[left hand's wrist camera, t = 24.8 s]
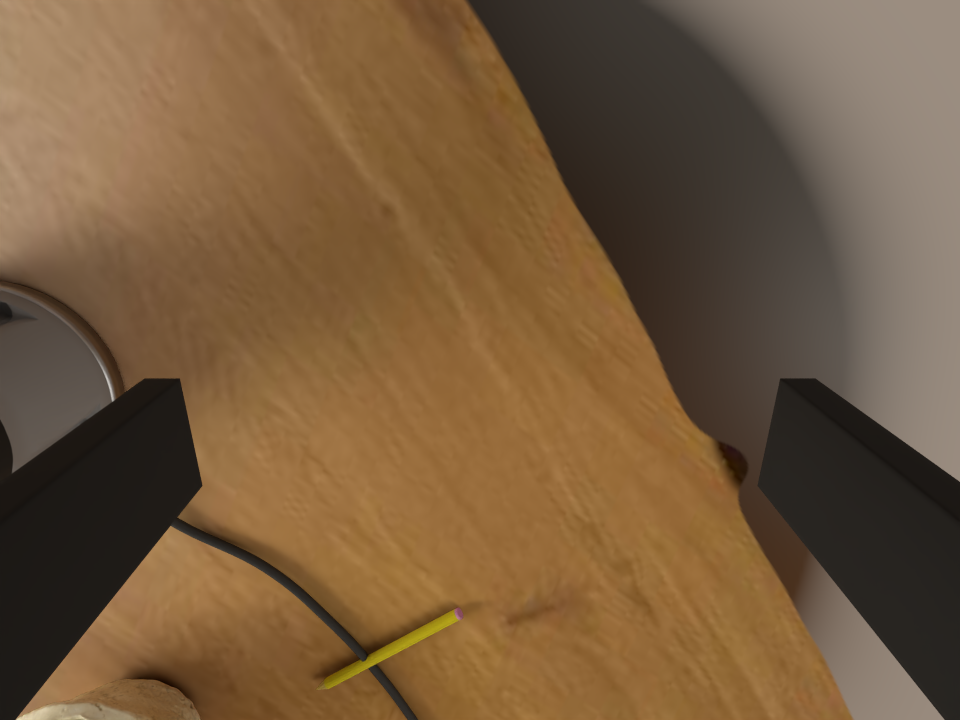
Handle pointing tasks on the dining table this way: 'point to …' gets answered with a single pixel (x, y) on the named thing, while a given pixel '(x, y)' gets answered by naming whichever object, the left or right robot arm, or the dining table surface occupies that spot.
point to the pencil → (392, 648)
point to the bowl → (122, 704)
